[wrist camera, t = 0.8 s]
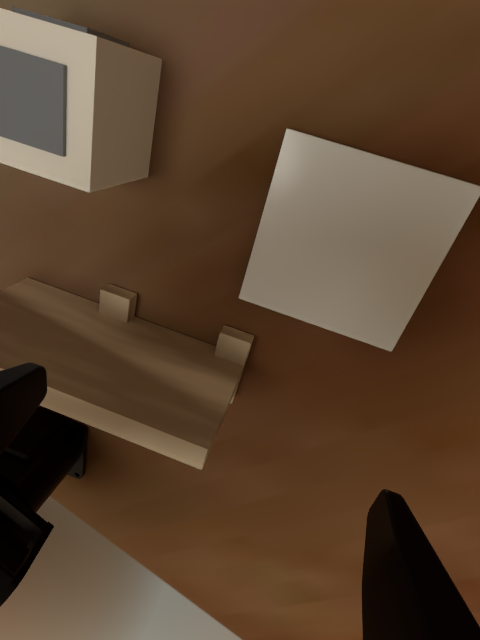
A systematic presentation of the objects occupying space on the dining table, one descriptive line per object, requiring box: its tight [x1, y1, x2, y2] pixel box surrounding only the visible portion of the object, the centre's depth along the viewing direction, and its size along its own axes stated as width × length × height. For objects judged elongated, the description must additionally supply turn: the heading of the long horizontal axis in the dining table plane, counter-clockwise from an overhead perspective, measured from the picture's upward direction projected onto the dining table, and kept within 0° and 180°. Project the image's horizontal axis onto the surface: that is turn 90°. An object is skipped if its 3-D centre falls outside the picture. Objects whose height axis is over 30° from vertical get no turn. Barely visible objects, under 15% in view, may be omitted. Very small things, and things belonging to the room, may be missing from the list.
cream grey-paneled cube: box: [0, 6, 162, 193], centre depth 17 cm, size 6×6×6 cm
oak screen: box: [0, 278, 254, 470], centre depth 22 cm, size 5×16×8 cm, turn 75°
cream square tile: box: [239, 128, 480, 352], centre depth 19 cm, size 9×9×1 cm
